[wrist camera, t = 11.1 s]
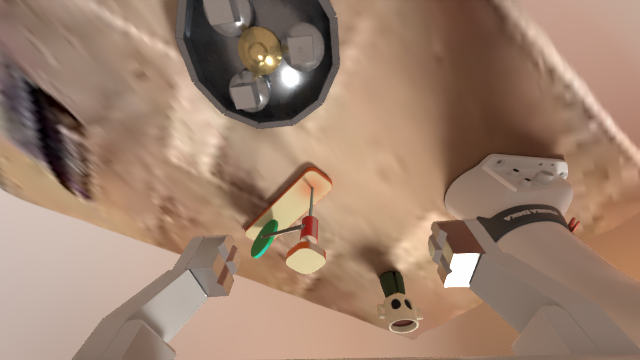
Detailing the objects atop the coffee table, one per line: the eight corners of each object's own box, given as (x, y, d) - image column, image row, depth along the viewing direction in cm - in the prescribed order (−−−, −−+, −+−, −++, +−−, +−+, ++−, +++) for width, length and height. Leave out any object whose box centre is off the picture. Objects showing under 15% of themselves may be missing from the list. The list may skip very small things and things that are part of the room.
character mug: (413, 270, 65) (431, 319, 54) (406, 285, 68) (422, 334, 58) (373, 268, 64) (383, 317, 54) (369, 283, 68) (377, 332, 57)
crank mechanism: (311, 164, 47) (304, 237, 31) (335, 182, 49) (340, 260, 33) (244, 230, 57) (212, 311, 41) (266, 243, 60) (245, 324, 43)
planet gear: (322, 19, 32) (322, 19, 28) (326, 67, 36) (326, 73, 32) (279, 24, 33) (273, 25, 29) (287, 71, 36) (282, 78, 32)
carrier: (332, -66, 29) (333, -85, 24) (342, 115, 41) (345, 127, 36) (157, -38, 30) (125, -51, 25) (218, 127, 43) (204, 141, 38)
